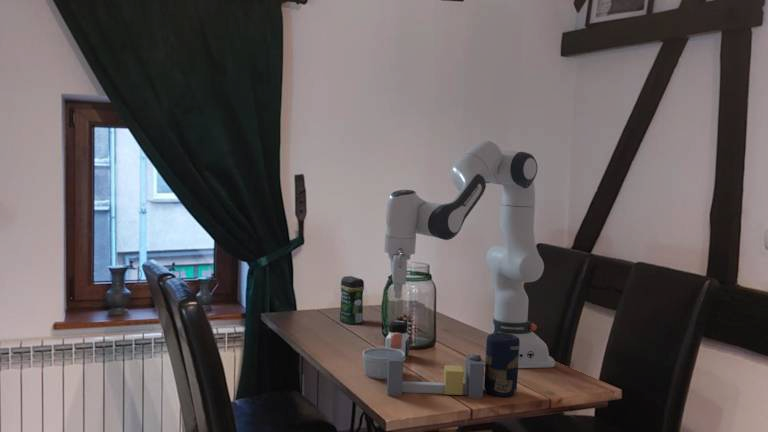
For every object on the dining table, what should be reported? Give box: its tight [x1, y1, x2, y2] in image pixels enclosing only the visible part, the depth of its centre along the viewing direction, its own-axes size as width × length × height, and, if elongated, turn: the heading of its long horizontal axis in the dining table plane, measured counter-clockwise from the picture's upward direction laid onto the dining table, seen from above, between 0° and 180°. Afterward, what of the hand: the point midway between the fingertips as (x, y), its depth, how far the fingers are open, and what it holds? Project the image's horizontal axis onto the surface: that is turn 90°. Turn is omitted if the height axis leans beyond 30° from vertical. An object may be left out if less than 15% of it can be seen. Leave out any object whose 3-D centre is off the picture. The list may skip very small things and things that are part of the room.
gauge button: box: [391, 332, 402, 349], centre depth 204 cm, size 3×3×4 cm
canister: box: [483, 332, 520, 397], centre depth 206 cm, size 10×10×18 cm
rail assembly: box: [386, 352, 485, 399], centre depth 205 cm, size 27×9×11 cm, turn 91°
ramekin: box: [362, 347, 405, 380], centre depth 220 cm, size 13×13×7 cm
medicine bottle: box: [384, 320, 411, 361], centre depth 240 cm, size 7×7×12 cm
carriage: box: [442, 365, 465, 396], centre depth 205 cm, size 5×6×7 cm
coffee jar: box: [339, 275, 365, 325], centre depth 287 cm, size 10×8×19 cm
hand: (397, 294), depth 203 cm, fingers open, 8 cm apart
